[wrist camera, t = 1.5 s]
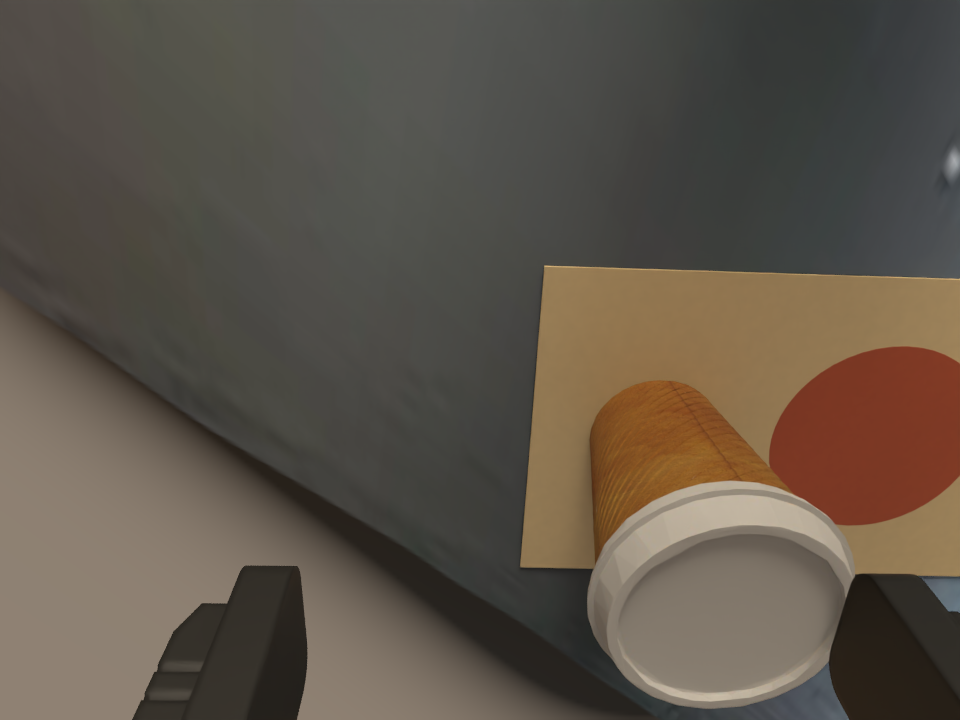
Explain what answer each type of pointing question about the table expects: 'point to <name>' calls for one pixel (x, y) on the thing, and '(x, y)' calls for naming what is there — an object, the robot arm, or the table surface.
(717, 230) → the table surface
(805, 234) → the table surface
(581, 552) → the placemat
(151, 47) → the table surface
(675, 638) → the disposable coffee cup
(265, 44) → the table surface
